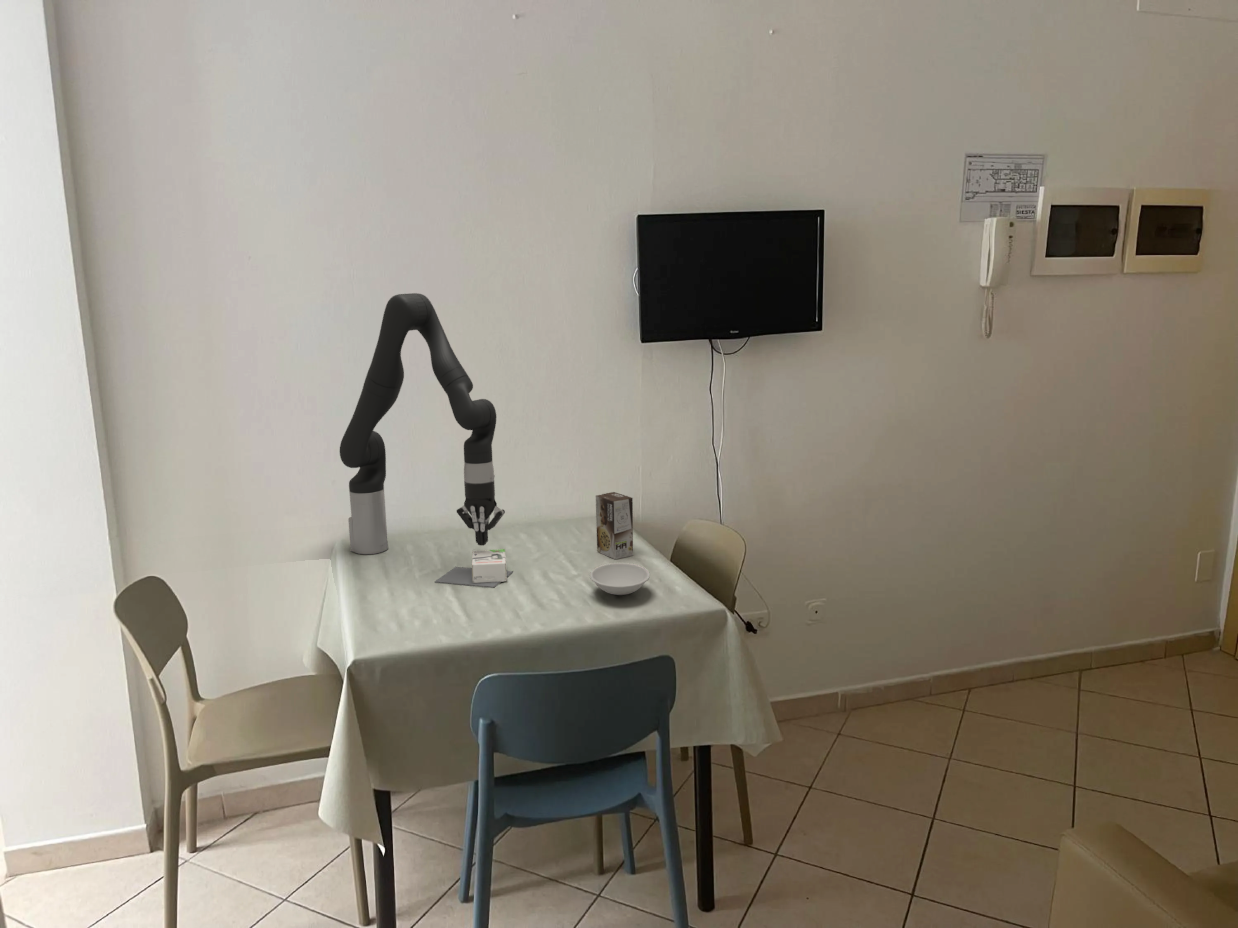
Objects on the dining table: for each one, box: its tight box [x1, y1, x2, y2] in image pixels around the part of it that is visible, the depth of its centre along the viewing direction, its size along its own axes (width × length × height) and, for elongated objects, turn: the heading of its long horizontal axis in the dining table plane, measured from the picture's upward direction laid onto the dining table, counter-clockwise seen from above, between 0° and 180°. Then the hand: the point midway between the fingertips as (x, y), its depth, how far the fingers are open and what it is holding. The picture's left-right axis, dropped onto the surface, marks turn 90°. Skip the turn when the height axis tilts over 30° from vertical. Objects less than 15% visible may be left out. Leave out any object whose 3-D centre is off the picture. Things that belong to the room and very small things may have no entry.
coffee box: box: [595, 491, 634, 560], centre depth 248 cm, size 9×6×16 cm
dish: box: [588, 562, 651, 596], centre depth 219 cm, size 18×14×5 cm
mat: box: [434, 566, 513, 589], centre depth 232 cm, size 16×12×1 cm
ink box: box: [471, 548, 508, 583], centre depth 232 cm, size 9×5×12 cm
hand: (482, 544), depth 236 cm, fingers closed
